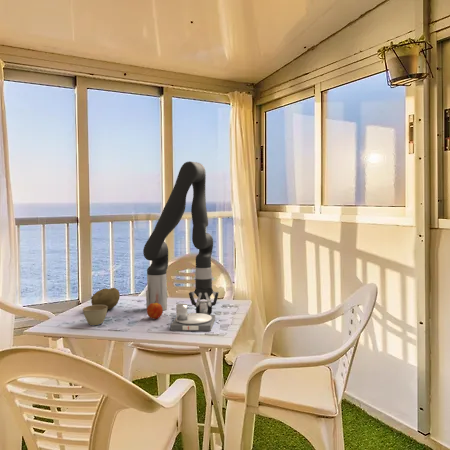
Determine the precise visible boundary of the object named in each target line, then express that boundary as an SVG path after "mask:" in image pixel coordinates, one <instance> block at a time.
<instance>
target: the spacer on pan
mask: <svg viewBox="0 0 450 450" xmlns="http://www.w3.org/2000/svg"><path fill="white" fill-rule="evenodd" d="M175 308H176V310H175V311H176V313H175V314H176V317H177V320H178V321H185V320H187V319H188V318H187V314H188V304H187V303H177V304H176V307H175Z"/></svg>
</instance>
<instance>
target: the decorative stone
mask: <svg viewBox="0 0 450 450" xmlns="http://www.w3.org/2000/svg"><path fill="white" fill-rule="evenodd" d="M120 296H121V295H120V291H119V290H118V288H116V287H110V288H102V289H100V290H98V291H96V292H95V293H94V294H93V295H91V300H90V301H91V305H106V306H107V307H108V308H107V311H108V310H110V309H113V308H114V307H115V306H117V305H118V303H119V301H120Z"/></svg>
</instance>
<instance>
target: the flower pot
mask: <svg viewBox="0 0 450 450" xmlns="http://www.w3.org/2000/svg"><path fill="white" fill-rule="evenodd" d="M107 308H108V307H107V306H106V305H92V304H91V305H87V306H85V307H83V308H82V313H83V315H84V318H85V321H86V322H87V323H88V325H89V324H90V325H89V326H91V325H98V324H101V323H102V324H103V323H104V321H105V319H106V316H107V313H108V310H107ZM102 324H101V325H102ZM98 326H99V325H98Z"/></svg>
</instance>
